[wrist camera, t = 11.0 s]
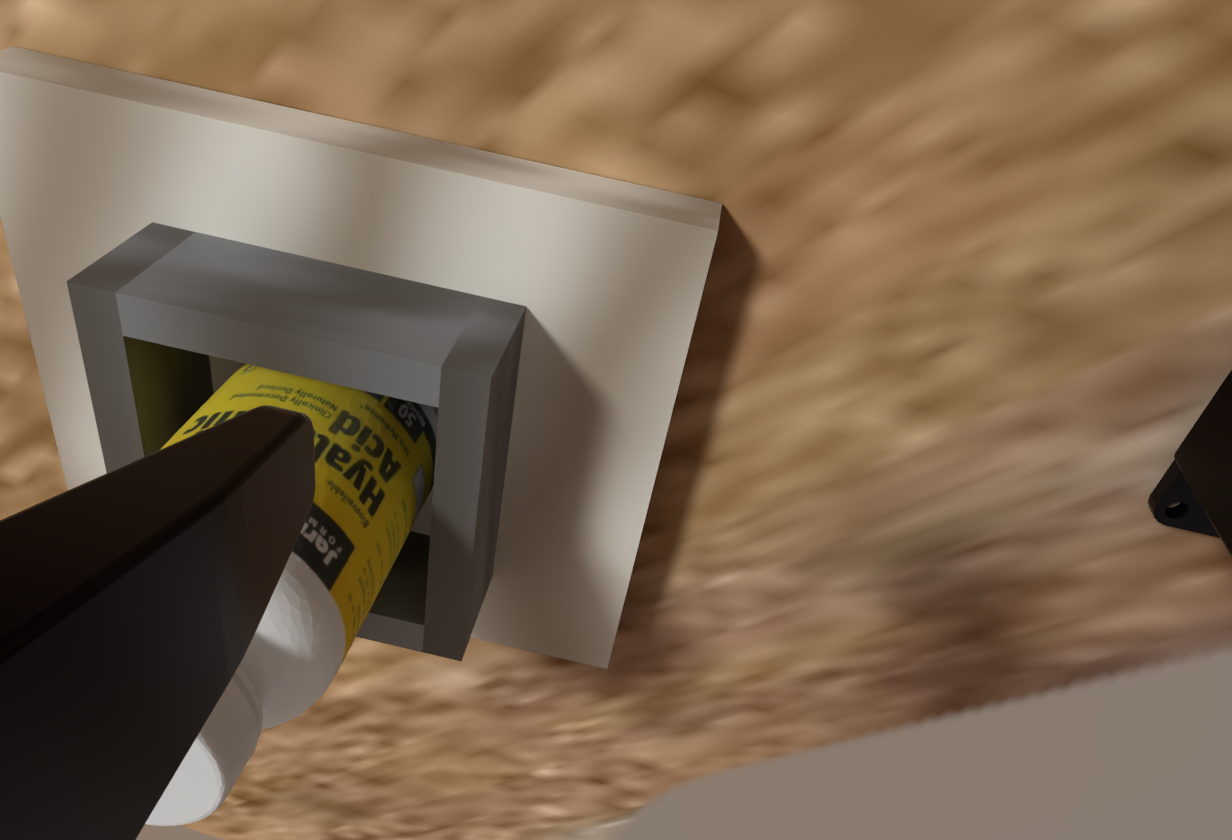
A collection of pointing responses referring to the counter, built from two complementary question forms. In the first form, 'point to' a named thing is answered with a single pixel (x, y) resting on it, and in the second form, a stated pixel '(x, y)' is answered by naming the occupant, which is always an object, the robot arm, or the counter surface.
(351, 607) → the supplement bottle
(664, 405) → the holder board
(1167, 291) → the counter surface
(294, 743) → the counter surface
